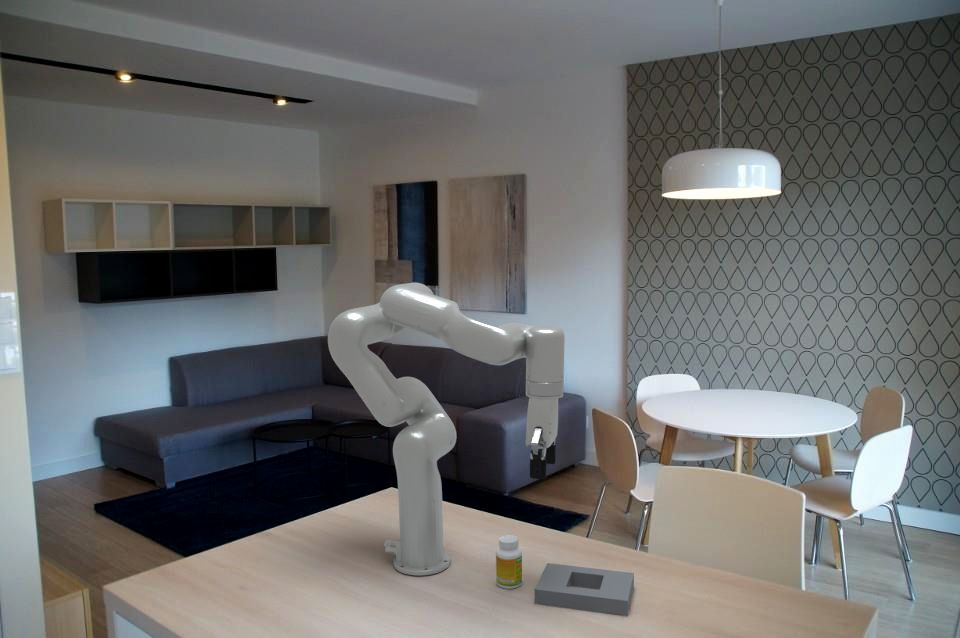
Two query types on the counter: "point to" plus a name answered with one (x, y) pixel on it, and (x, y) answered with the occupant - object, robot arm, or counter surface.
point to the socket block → (608, 599)
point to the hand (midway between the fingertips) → (542, 470)
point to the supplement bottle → (508, 562)
